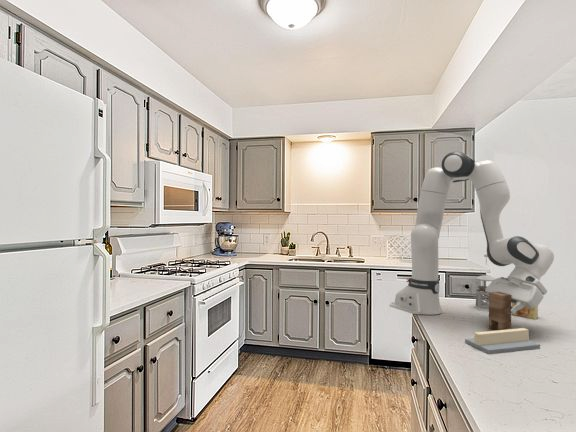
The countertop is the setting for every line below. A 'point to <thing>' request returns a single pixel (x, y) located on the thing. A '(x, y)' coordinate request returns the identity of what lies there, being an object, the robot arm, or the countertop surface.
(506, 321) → the walnut block
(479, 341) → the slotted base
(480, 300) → the french press
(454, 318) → the countertop surface
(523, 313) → the candy box
